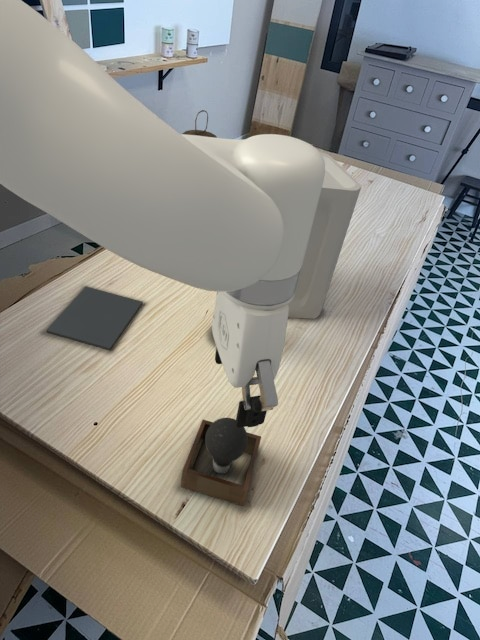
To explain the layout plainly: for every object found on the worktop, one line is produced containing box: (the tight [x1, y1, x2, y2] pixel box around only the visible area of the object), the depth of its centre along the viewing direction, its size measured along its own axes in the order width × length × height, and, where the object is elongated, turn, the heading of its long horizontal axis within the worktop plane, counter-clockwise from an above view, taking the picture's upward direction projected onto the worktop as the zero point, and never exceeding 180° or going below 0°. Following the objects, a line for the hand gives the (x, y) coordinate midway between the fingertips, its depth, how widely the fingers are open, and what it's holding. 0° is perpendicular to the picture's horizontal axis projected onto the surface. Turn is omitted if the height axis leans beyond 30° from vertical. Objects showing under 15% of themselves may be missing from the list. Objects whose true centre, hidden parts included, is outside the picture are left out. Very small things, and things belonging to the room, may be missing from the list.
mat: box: [45, 286, 144, 351], centre depth 86 cm, size 14×12×1 cm
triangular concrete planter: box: [288, 150, 363, 320], centre depth 89 cm, size 19×15×28 cm
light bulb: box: [204, 417, 248, 474], centre depth 63 cm, size 6×6×10 cm
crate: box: [180, 419, 262, 507], centre depth 65 cm, size 9×9×4 cm
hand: (237, 390), depth 55 cm, fingers open, 9 cm apart
